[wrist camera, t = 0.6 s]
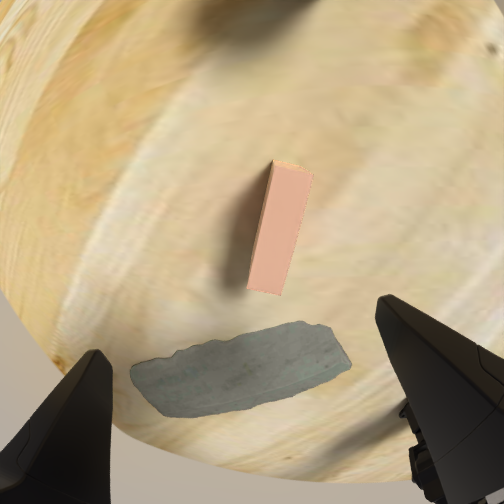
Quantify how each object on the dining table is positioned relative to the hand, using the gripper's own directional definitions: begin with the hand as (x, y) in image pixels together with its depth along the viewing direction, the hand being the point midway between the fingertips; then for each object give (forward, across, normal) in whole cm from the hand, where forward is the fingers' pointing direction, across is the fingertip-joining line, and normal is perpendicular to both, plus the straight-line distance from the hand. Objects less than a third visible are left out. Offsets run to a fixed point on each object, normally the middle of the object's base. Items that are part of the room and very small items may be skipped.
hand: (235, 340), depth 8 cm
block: (+13, -3, +2) cm, 14 cm away
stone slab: (+12, +3, +18) cm, 22 cm away
